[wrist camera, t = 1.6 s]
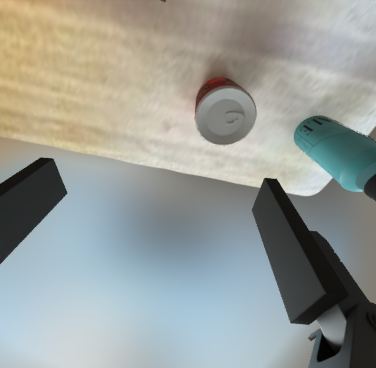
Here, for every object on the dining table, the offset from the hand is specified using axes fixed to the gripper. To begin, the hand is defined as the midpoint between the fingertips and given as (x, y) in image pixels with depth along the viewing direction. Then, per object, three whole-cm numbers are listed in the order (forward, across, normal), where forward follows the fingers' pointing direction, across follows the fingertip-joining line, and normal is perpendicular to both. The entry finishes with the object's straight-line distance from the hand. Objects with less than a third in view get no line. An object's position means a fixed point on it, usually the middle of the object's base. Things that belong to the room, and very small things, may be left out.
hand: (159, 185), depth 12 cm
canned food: (+26, +6, +1) cm, 27 cm away
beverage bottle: (+26, +24, -3) cm, 35 cm away
